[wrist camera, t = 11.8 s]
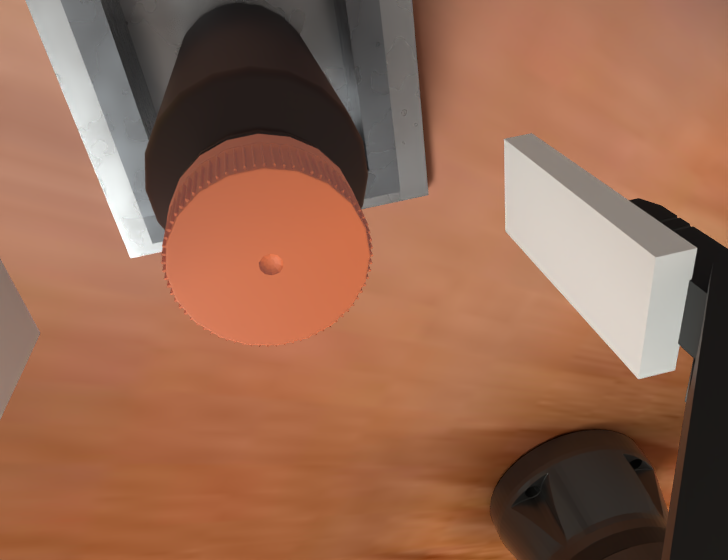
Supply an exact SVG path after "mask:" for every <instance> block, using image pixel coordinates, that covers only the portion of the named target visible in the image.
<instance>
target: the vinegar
mask: <svg viewBox="0 0 728 560" xmlns="http://www.w3.org/2000/svg"><path fill="white" fill-rule="evenodd" d="M367 179H368V170H367V163H366V157H365V150H364V144H363V140H362V138H361V136H360V134H359V132H358V130H357V128H356V127H355V125H354V123H353V121H352V119H351V117H350V115H349V113H348V111H347V110H346V108H345V106H344V105H343V103H342V102H341V100H340V98H339V97H338V95H337V94H336V92H335V90H334V89H333V87H332V85H331V84H330V82H329V81H328V79H327V77H326V76H325V74H324V73H323V71H322V69H321V68H320V66H319V65H318V63H317V61H316V60H315V58H314V57H313V55H312V53H311V52H310V50H309V49H308V47H307V45H306V44H305V42H304V41H303V39H302V37H301V36H300V34H299V33H298V31H297V30H295V29H294V28H293V27H292V26H291V25H290V24H289V23H288V22H287V21H286V20H285V19H284V18H283V17H282V16H281V15H279V14H277V13H275V12H273V11H271V10H269V9H267V8H265V7H263V6H259V5H252V4H246V3H235V4H230V5H224V6H219V7H216V8H215V9H213V10H211V11H210V12H208V13H206V14H205V15H203V16H201V17H200V18H198V19H197V21H196V22H195V23H194V24H193V26H192V27H191V28H190V29H189V31H188V32H187V33H186V34H185V36H184V39H183V41H182V44H181V47H180V50H179V53H178V56H177V59H176V62H175V65H174V68H173V71H172V74H171V77H170V80H169V82H168V85H167V88H166V91H165V94H164V97H163V100H162V103H161V106H160V109H159V112H158V115H157V118H156V121H155V124H154V127H153V130H152V133H151V136H150V139H149V142H148V145H147V148H146V150H145V190H146V193H147V195H148V198H149V201H150V203H151V206H152V209H153V211H154V214H155V216H156V219H157V222H158V223H159V224H160V225H161V226H162V228H163V229H164V230H165V233H164V239H163V244H162V247H163V248H162V254H161V255H162V256H163V257H162V264H164V265H163V272H165V278H164V280H168V283H167V287H168V288H170V287H171V292H170V295H174V296H175V300H174V302H178V303H179V308H184V309H185V312H184V314H185V315H186V314H189V315H190V316H191V317H190V320H194V321H195V322H196V323H197V325H201V326H203V327H204V328H203V330H206V329H208V330H210V331H211V334H213V333H215V334H216V335H218V338H220V337H222V338H226V341H227V340H228V339H230V340H233V341H234V343H236V342H241V343H242V345H244V344H248V345H250V346H252V345H259V347H260V346H261V345H267V347H269V345H275V346H277V345H280V344H284V345H285V344H286V343H289V342H292V343H294V341H297V340H300V341H302V339H305V338H309V337H310V336H311V335H313V334H315V335H317V332H319V331H321V330H322V331H324V329H325V328H326V327H328V326H329V327H331V325H332V324H333V323H334V322H337V319H338V318H339V317H340V316H341V317H343V313H345V312H346V311H347V312H349V308H350V307H351V306H354V301H355V299H359V298H358V294H359V292H360V293H362V292H363V291H362V287H363V286H366V283H365V281H366V279H368V278H369V277H368V274H367V272H370V271H371V269H370V267H369V264H372V261H371V259H370V257H371V256H373V254H372V252H371V250H370V249H372V248H373V247H372V245H371V242H370V241H372V239H371V237H370V234H369V233H370V230H369V228H368V224H367V221H366V219H365V217H364V214H363V212H362V210H361V208H362V207H363V203H364V197H365V191H366V185H367Z"/></svg>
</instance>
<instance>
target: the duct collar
mask: <svg viewBox="0 0 728 560" xmlns="http://www.w3.org/2000/svg"><path fill="white" fill-rule="evenodd" d="M25 1H26V3H27V5H28V8H29V10H30V13H31V15H32V18H33V20H34V23H35V25H36V28H37V30H38V32H39V35H40V37H41V40H42V42H43V45H44V47H45V50H46V52H47V55H48V57H49V59H50V62H51V64H52V67H53V69H54V72H55V74H56V77H57V79H58V81H59V84H60V86H61V89H62V91H63V94H64V96H65V99H66V101H67V104H68V106H69V108H70V111H71V113H72V116H73V118H74V121H75V123H76V126H77V128H78V131H79V133H80V135H81V138H82V140H83V143H84V145H85V148H86V150H87V153H88V155H89V158H90V160H91V162H92V165H93V167H94V170H95V172H96V175H97V177H98V180H99V182H100V184H101V187H102V189H103V192H104V194H105V197H106V199H107V202H108V204H109V207H110V209H111V211H112V214H113V216H114V219H115V221H116V224H117V226H118V229H119V231H120V234H121V236H122V238H123V241H124V243H125V246H126V248H127V251H128V253H129V256H130V258H134V257H139V256H144V255H148V254H153V253H158V252H162V248H163V247H162V244H163V239H164V233H165V230H164V229H163V228H162V226H161V225H160V224H159V223H158V222H157V219H156V216H155V214H154V211H153V209H152V206H151V203H150V201H149V198H148V195H147V193H146V190H145V150H146V148H147V145H148V142H149V139H150V136H151V133H152V130H153V127H154V124H155V121H156V118H157V115H158V112H159V109H160V106H161V103H162V100H163V97H164V94H165V91H166V88H167V85H168V82H169V80H170V77H171V74H172V71H173V68H174V65H175V62H176V59H177V56H178V53H179V50H180V47H181V44H182V41H183V39H184V36H185V34H186V33H187V32H188V31H189V29H190V28H191V27H192V26H193V24H194V23H195V22H196V21H197V19H198V18H200V17H201V16H203V15H205V14H206V13H208V12H210V11H211V10H213V9H215V8H216V7H219V6H224V5H230V4H235V3H246V4H252V5H259V6H263V7H265V8H267V9H269V10H271V11H273V12H275V13H277V14H279V15H281V16H282V17H283V18H284V19H285V20H286V21H287V22H288V23H289V24H290V25H291V26H292V27H293V28H294V29H295V30H297V31H298V33H299V34H300V36H301V37H302V39H303V41H304V42H305V44H306V45H307V47H308V49H309V50H310V52H311V53H312V55H313V57H314V58H315V60H316V61H317V63H318V65H319V66H320V68H321V69H322V71H323V73H324V74H325V76H326V77H327V79H328V81H329V82H330V84H331V85H332V87H333V89H334V90H335V92H336V94H337V95H338V97H339V98H340V100H341V102H342V103H343V105H344V106H345V108H346V110H347V111H348V113H349V115H350V117H351V119H352V121H353V123H354V125H355V127H356V128H357V130H358V132H359V134H360V136H361V138H362V140H363V144H364V150H365V157H366V163H367V170H368V179H367V185H366V191H365V197H364V203H363V207H362V208H361V209H365V208H370V207H374V206H379V205H384V204H389V203H393V202H398V201H403V200H407V199H412V198H417V197H422V196H426V195H428V184H427V172H426V160H425V148H424V136H423V124H422V112H421V101H420V89H419V77H418V65H417V53H416V41H415V29H414V18H413V6H412V0H25Z"/></svg>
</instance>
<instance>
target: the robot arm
mask: <svg viewBox="0 0 728 560" xmlns="http://www.w3.org/2000/svg"><path fill="white" fill-rule="evenodd" d="M504 162H505V231H506V232H507V233H508V234H509V236H510V237H511V238H512V239H513V240H514V241H515V242H516V243H517V245H518V246H519V247H520V248H521V249H522V250H523V251H524V252H525V253H526V255H527V256H528V257H529V258H530V259H531V260H532V261H533V262H534V263H535V265H536V266H537V267H538V268H539V269H540V270H541V271H542V272H543V273H544V275H545V276H546V277H547V278H548V279H549V280H550V281H551V282H552V283H553V285H554V286H555V287H556V288H557V289H558V290H559V291H560V292H561V294H562V295H563V296H564V297H565V298H566V299H567V300H568V301H569V302H570V304H571V305H572V306H573V307H574V308H575V309H576V310H577V311H578V312H579V314H580V315H581V316H582V317H583V318H584V319H585V320H586V321H587V322H588V324H589V325H590V326H591V327H592V328H593V329H594V330H595V331H596V332H597V334H598V335H599V336H600V337H601V338H602V339H603V340H604V341H605V343H606V344H607V345H608V346H609V347H610V348H611V349H612V350H613V351H614V353H615V354H616V355H617V356H618V357H619V358H620V359H621V360H622V361H623V363H624V364H625V365H626V366H627V367H628V368H629V369H630V370H631V371H632V373H633V374H634V375H635V376H636V377H637V378H638V379H642V378H646V377H650V376H654V375H658V374H662V373H666V372H670V371H674V370H675V368H676V362H677V357H678V351H679V346H681V347H682V348H683V349H684V350H686V351H687V352H688V353H689V354H690V355H691V356H692V357H693V358H694V359H693V364H692V369H691V374H690V379H689V384H688V389H687V394H686V399H685V402H686V406H685V412H684V419H683V425H682V431H681V438H680V444H679V450H678V457H677V463H676V469H675V476H674V482H673V488H672V495H671V501H670V507H669V512H668V509H667V506H666V503H665V501H664V498H663V495H662V492H661V489H660V486H659V483H658V480H657V477H656V474H655V471H654V469H653V467H652V465H651V463H650V461H649V460H648V459H647V457H646V456H645V455H644V453H643V452H642V451H641V450H640V448H639V447H638V446H637V444H636V443H635V442H634V441H633V440H632V439H630V438H629V437H627V436H625V435H623V434H621V433H617V432H614V431H608V430H587V431H580V432H575V433H571V434H567V435H564V436H561V437H558V438H556V439H553V440H551V441H549V442H546V443H544V444H542V445H541V446H539V447H537V448H535V449H534V450H532V451H530V452H529V453H528V454H526V455H525V456H523V457H522V458H521V459H519V460H518V461H517V462H516V463H515V464H514V465H513V466H512V467H511V468H510V469H509V470H508V471H507V472H506V473H505V474H504V476H503V477H502V478H501V480H500V481H499V483H498V484H497V486H496V488H495V490H494V492H493V495H492V498H491V503H490V514H491V518H492V521H493V523H494V525H495V528H496V530H497V532H498V534H499V537H500V539H501V540H502V542H503V544H504V545H505V546H506V548H507V549H508V550H509V551H510V552H511V553H512V554H513V555H514V557H515V558H516V559H517V560H728V249H727V248H726V247H724V246H723V245H721V244H719V243H718V242H716V241H715V240H713V239H712V238H710V237H709V236H707V235H706V234H704V233H703V232H701V231H700V230H698V229H696V228H695V227H690V224H689V223H687V222H686V221H684V220H683V219H681V218H677V215H675V214H673V213H672V212H670V211H669V210H667V209H666V208H664V207H663V206H661V205H658V204H655V203H652V202H649V201H646V200H643V199H639V198H638V199H633V200H627V199H626V198H624V197H623V196H622V195H620V194H619V193H617V192H616V191H614V190H613V189H611V188H610V187H609V186H607V185H606V184H604V183H603V182H601V181H600V180H598V179H597V178H596V177H594V176H593V175H591V174H590V173H588V172H587V171H585V170H584V169H583V168H581V167H580V166H578V165H577V164H575V163H574V162H572V161H571V160H570V159H568V158H567V157H565V156H564V155H562V154H561V153H559V152H558V151H557V150H555V149H554V148H552V147H551V146H549V145H548V144H546V143H545V142H544V141H542V140H541V139H539V138H538V137H536V136H535V135H533V134H532V133H531V134H526V135H521V136H516V137H511V138H506V139H504ZM39 335H40V332H39V330H38V328H37V326H36V324H35V322H34V320H33V319H32V317H31V315H30V313H29V311H28V309H27V307H26V306H25V304H24V302H23V300H22V298H21V296H20V294H19V293H18V291H17V289H16V287H15V285H14V283H13V281H12V280H11V278H10V276H9V274H8V272H7V270H6V268H5V267H4V265H3V263H2V261H1V259H0V419H1V417H2V415H3V412H4V410H5V408H6V406H7V404H8V402H9V399H10V397H11V395H12V393H13V391H14V389H15V387H16V384H17V382H18V380H19V378H20V376H21V374H22V372H23V369H24V367H25V365H26V363H27V361H28V359H29V356H30V354H31V352H32V350H33V348H34V346H35V344H36V341H37V339H38V337H39Z"/></svg>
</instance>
